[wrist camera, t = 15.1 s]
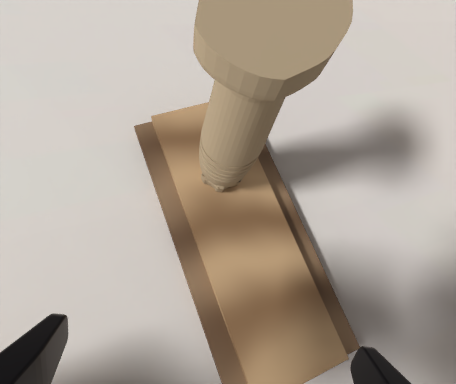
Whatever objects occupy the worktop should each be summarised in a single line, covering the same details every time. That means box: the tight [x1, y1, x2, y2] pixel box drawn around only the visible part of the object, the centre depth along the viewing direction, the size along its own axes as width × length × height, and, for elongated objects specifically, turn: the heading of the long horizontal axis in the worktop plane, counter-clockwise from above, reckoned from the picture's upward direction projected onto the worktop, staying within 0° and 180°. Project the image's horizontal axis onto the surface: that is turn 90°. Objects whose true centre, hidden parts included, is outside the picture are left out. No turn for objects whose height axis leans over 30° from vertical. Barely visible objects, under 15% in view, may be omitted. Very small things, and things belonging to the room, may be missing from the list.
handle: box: [193, 0, 353, 192], centre depth 17 cm, size 5×6×15 cm
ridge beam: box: [134, 102, 360, 384], centre depth 24 cm, size 22×10×2 cm, turn 22°
